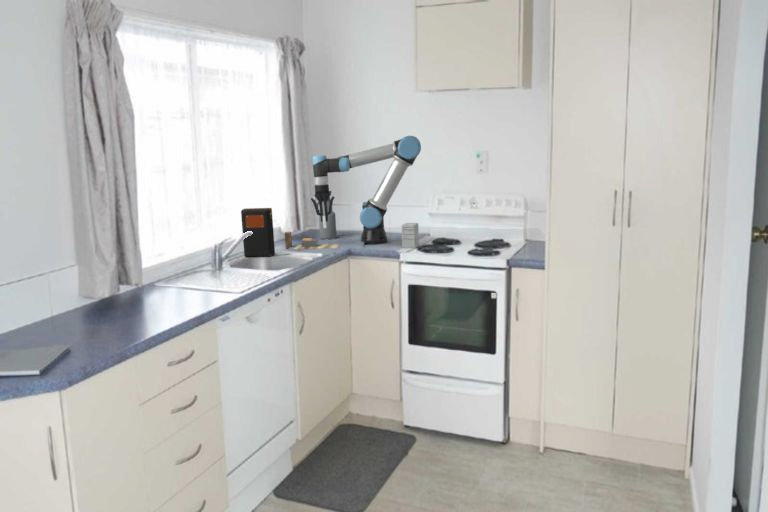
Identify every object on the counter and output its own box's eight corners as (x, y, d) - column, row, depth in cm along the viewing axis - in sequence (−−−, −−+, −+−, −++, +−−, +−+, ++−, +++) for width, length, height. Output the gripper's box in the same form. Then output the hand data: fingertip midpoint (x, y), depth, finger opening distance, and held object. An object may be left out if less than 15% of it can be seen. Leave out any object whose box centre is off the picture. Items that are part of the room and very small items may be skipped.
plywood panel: (340, 246, 381) (340, 244, 380) (337, 250, 369) (337, 248, 369) (297, 247, 382) (297, 245, 382) (293, 251, 371) (293, 249, 370)
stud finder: (317, 245, 380) (317, 238, 379) (316, 246, 376) (316, 239, 375) (303, 245, 380) (302, 238, 380) (301, 246, 376) (301, 239, 376)
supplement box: (406, 245, 375) (405, 222, 372) (419, 246, 372) (418, 222, 370) (401, 248, 368) (401, 224, 366) (415, 248, 365) (414, 225, 363)
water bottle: (316, 239, 406) (313, 192, 401) (324, 236, 415) (321, 190, 410) (332, 239, 402) (329, 192, 397) (339, 237, 411) (336, 190, 406)
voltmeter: (276, 254, 365) (272, 207, 360) (272, 257, 357) (268, 209, 352) (247, 254, 367) (243, 207, 362) (242, 257, 358) (238, 210, 354)
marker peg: (292, 248, 380) (291, 232, 378) (291, 249, 377) (290, 233, 375) (286, 248, 380) (285, 232, 378) (285, 249, 377) (284, 233, 376)
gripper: (334, 182, 374) (337, 225, 379) (310, 184, 375) (314, 227, 380) (332, 184, 367) (336, 228, 371) (308, 185, 368) (312, 229, 372)
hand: (325, 227), depth 376 cm, fingers closed
